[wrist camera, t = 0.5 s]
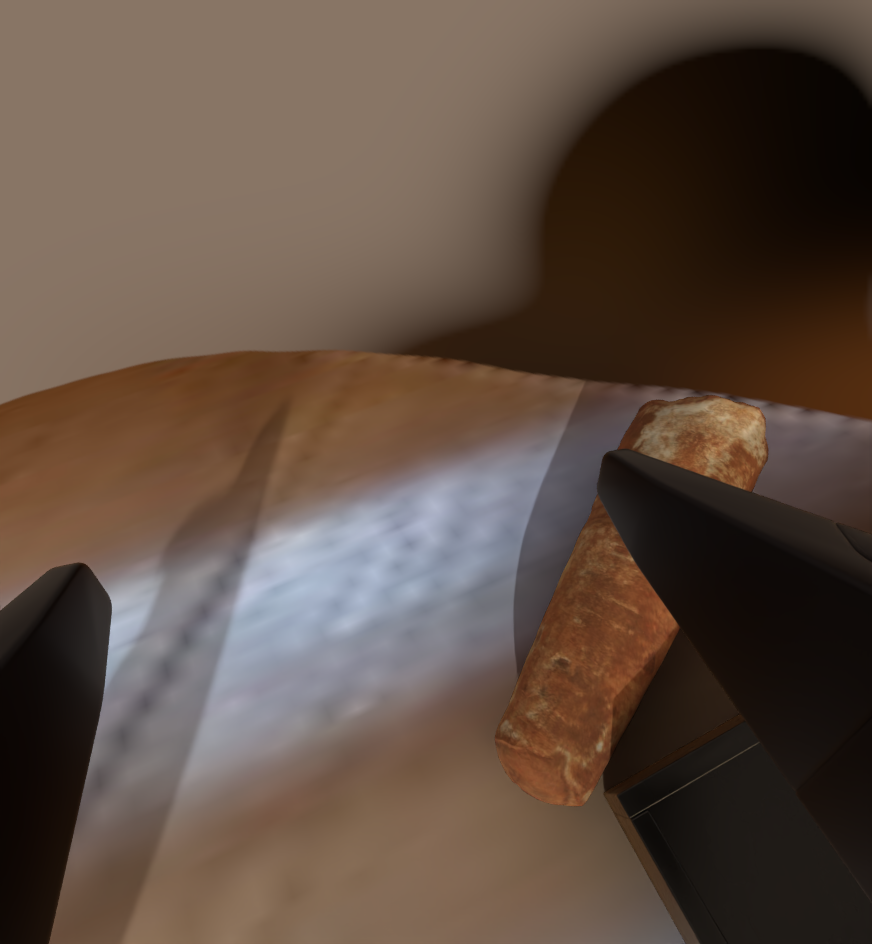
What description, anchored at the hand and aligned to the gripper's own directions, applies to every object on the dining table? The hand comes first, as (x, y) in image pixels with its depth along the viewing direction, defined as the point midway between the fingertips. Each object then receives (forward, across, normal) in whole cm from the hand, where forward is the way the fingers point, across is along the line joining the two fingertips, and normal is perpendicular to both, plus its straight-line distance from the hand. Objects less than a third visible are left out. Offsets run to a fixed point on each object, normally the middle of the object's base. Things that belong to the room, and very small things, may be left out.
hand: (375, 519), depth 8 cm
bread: (+5, -12, +14) cm, 19 cm away
